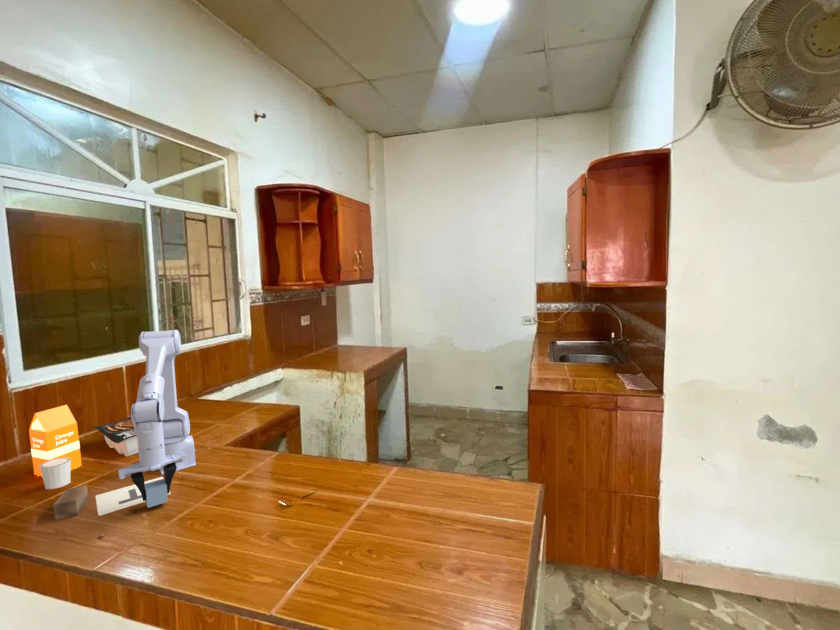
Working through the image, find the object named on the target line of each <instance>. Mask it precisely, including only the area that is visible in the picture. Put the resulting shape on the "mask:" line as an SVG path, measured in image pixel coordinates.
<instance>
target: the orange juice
mask: <svg viewBox="0 0 840 630" xmlns="http://www.w3.org/2000/svg"><path fill="white" fill-rule="evenodd" d="M28 432H29V441H30V451H31V452H30V453H31V460H32V466H33V474H34V475H37V476H36V477H39V476H41V477H40V478H43V477H42V473H41V469H40V465H41V464H43V463H44V462H47V461H50V460H53V459H57V458H65V457H68V458H70V459H71V471H73V469H74V470H76V469H78V467H79V468H81V467H82V466H83V465H82V455H81V445H80V439H79V430H78V421H76V419H75V417H74V415H73V413H72V412H71V409H70V408H69V406H68V404H64V405H60V406H57V407H53V408H49V409H45V410H41V411H37V412H34V415H33V418H32V420H31V423H30V426H29V429H28ZM80 466H81V467H80Z"/></svg>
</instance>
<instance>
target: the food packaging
mask: <svg viewBox="0 0 840 630" xmlns="http://www.w3.org/2000/svg"><path fill="white" fill-rule="evenodd" d="M92 428H94V429H96V430H97V431H99V432H100V433H101V434H103V436H104V440H105V443H106V444H108V445H107V446H108V447H109V448H110V449H111V448H113V449H114V450H115V451H117V453H118V454H120V455H124V457H130V456H132V455H136V454H139V452H138V442H137V432H136V431H135V430H134V425H133V422H132V418H131V416H129V417H126V418H124V419H121V420H118V421H116V422H112V423H108V424H104V425H99V426H98V425H97V426H92Z"/></svg>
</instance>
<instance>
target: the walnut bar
mask: <svg viewBox="0 0 840 630" xmlns="http://www.w3.org/2000/svg"><path fill="white" fill-rule="evenodd" d="M88 490H89V489H88V485H85V486H77V487H71V488H66V489H65V491H63V492H62V494H61V495H60V496H59V498H58V499H57V500H56V501H55V502H54V503H53V504H52V505H53V515H54V520H55V521H56V520H62V519H66V518H72V517H77V516H79V514H80V513H81V511H82V510H83V508H84V507H85V506H86V504H87V503H88V502H89V492H88Z"/></svg>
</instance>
